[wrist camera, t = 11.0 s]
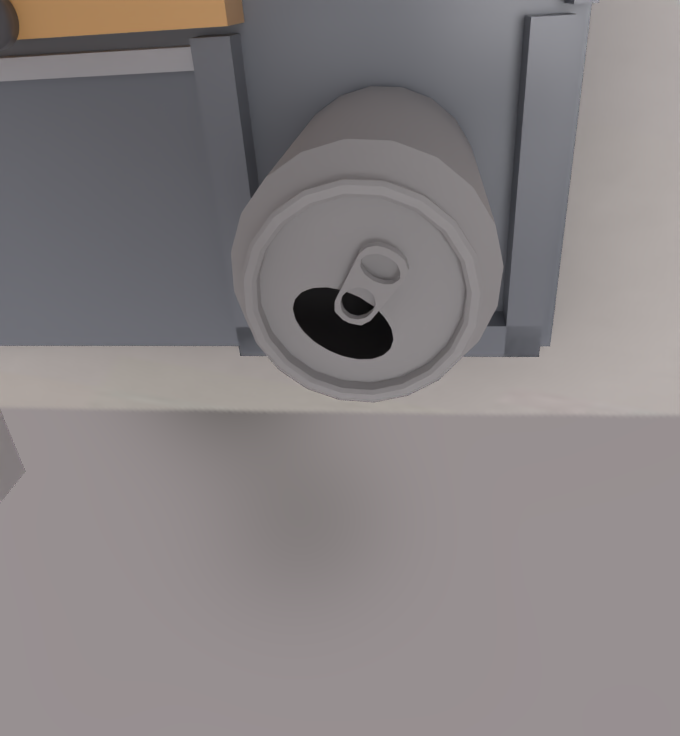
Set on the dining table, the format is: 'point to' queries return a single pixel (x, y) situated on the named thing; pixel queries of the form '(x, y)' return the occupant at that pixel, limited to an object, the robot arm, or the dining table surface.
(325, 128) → the can
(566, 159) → the housing
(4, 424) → the robot arm
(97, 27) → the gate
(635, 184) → the dining table surface
